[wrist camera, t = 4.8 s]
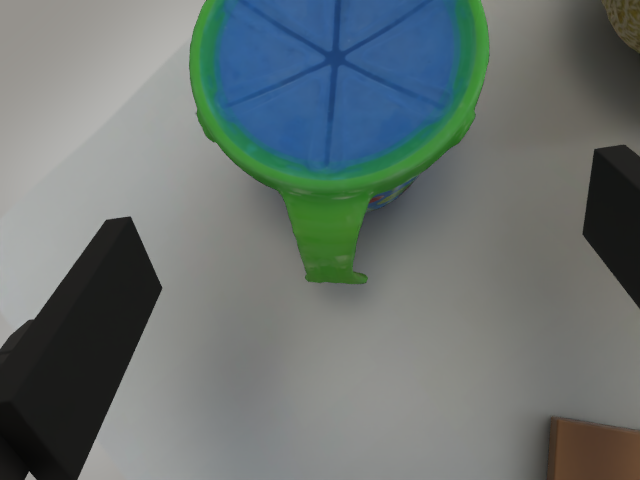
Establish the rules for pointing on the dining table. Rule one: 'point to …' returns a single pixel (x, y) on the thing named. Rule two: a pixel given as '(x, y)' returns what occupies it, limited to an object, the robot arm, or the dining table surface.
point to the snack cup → (337, 103)
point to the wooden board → (592, 451)
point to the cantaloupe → (625, 20)
